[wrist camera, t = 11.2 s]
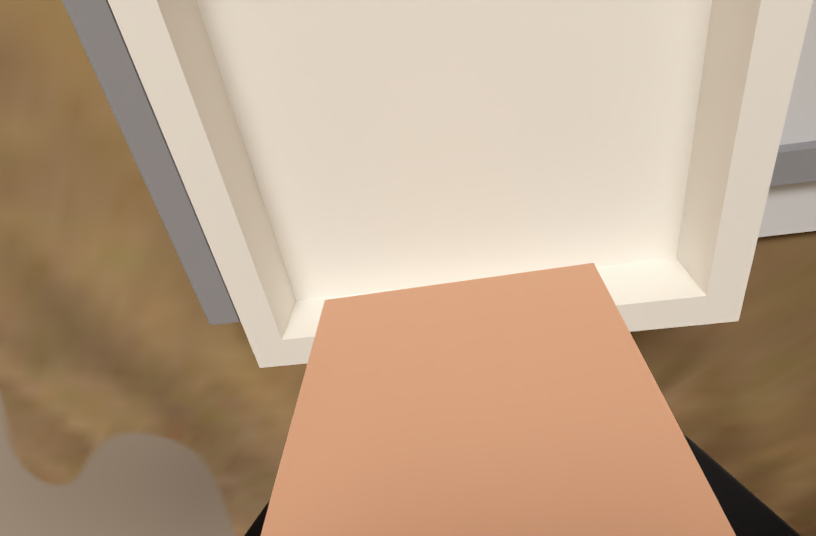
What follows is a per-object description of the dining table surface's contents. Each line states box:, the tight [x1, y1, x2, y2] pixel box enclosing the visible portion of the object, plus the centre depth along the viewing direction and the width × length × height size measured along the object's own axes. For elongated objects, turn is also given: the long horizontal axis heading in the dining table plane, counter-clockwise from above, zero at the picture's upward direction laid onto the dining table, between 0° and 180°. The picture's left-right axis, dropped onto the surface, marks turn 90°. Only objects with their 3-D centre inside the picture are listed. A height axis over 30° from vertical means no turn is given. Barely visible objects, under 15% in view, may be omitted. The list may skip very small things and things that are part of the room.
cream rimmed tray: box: [108, 0, 813, 368], centre depth 14 cm, size 14×14×5 cm
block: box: [261, 263, 736, 536], centre depth 8 cm, size 5×5×6 cm
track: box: [62, 0, 816, 325], centre depth 15 cm, size 16×34×2 cm, turn 99°
